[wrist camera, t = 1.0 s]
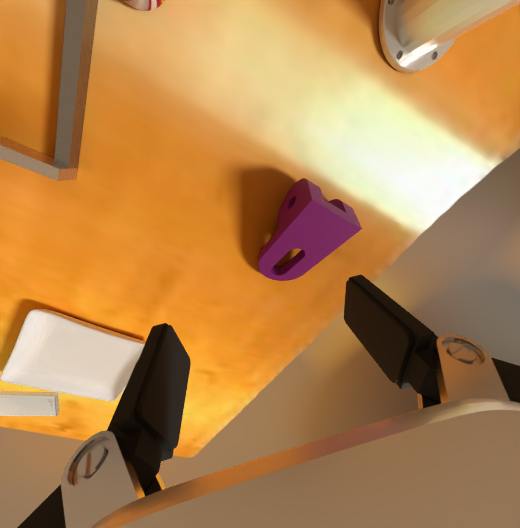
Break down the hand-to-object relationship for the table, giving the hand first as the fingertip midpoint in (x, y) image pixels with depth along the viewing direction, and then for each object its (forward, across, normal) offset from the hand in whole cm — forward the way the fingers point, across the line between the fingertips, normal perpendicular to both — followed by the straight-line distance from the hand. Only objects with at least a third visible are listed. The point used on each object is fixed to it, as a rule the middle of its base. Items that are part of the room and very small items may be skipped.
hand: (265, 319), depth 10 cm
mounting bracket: (+26, -9, +7) cm, 29 cm away
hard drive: (+26, +58, +33) cm, 71 cm away
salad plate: (+26, +38, +23) cm, 51 cm away
